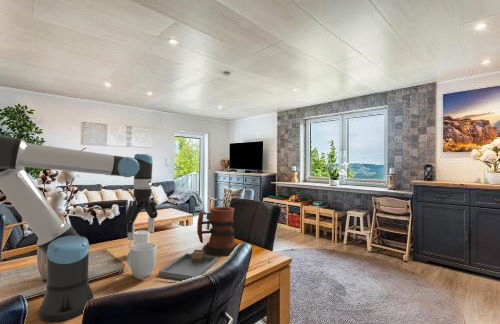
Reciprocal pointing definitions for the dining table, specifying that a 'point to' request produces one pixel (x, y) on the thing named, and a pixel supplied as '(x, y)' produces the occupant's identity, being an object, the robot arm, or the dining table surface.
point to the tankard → (218, 231)
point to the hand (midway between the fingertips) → (141, 235)
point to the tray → (187, 268)
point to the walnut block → (198, 256)
